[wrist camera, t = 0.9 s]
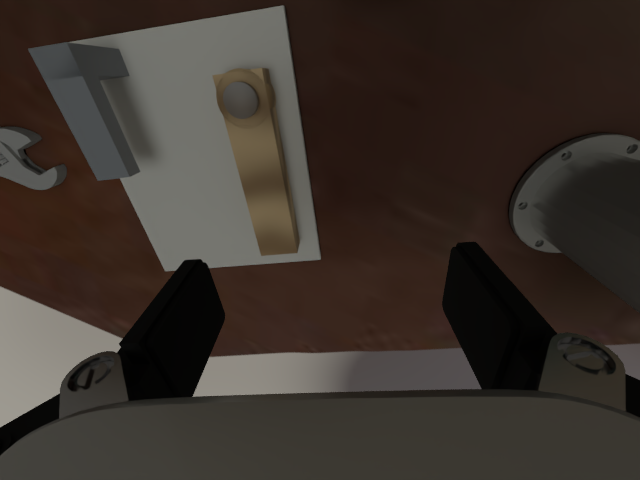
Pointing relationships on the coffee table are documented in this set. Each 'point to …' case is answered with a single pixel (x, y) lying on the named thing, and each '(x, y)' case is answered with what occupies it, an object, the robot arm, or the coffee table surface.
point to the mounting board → (182, 129)
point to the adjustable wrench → (25, 160)
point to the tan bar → (259, 156)
